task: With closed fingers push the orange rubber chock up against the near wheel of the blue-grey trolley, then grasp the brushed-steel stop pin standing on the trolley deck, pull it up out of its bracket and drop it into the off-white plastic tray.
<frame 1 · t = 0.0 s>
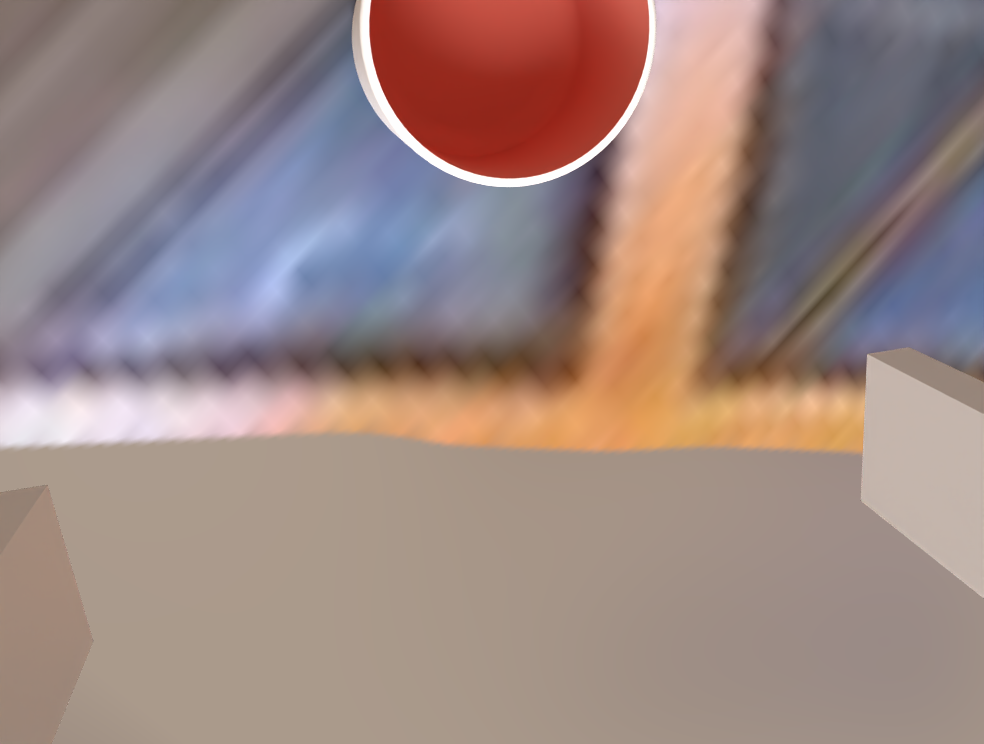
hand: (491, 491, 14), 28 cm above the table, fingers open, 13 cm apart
cup: (466, 43, 39), on the table
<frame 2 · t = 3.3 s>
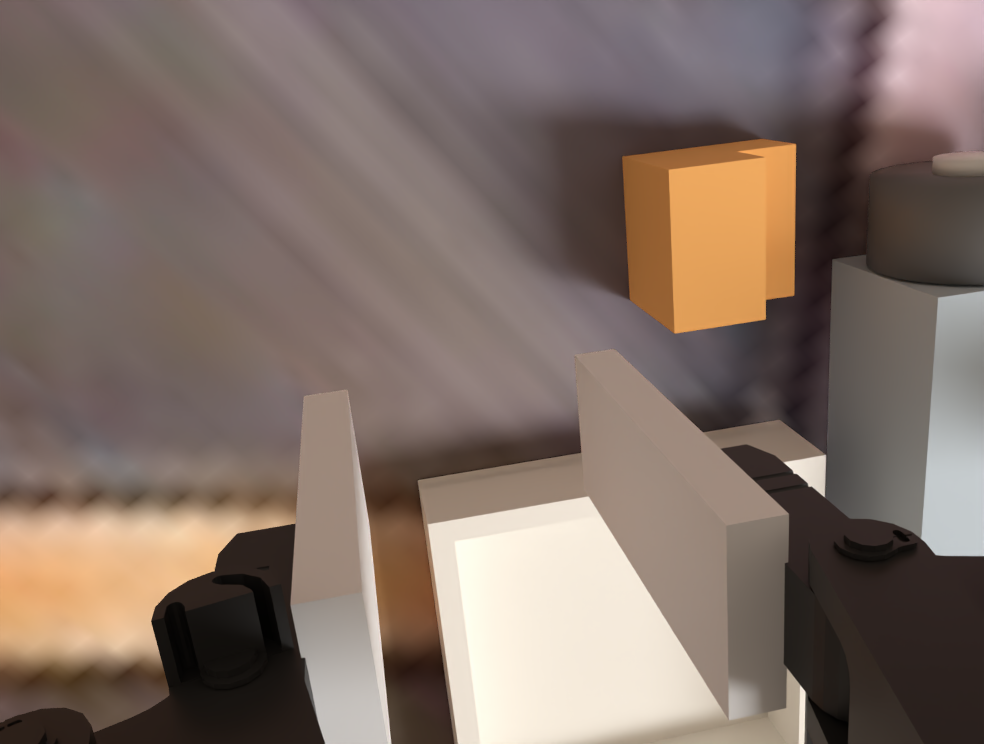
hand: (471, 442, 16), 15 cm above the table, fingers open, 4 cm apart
tray: (613, 608, 36), on the table
chock: (693, 220, 31), on the table
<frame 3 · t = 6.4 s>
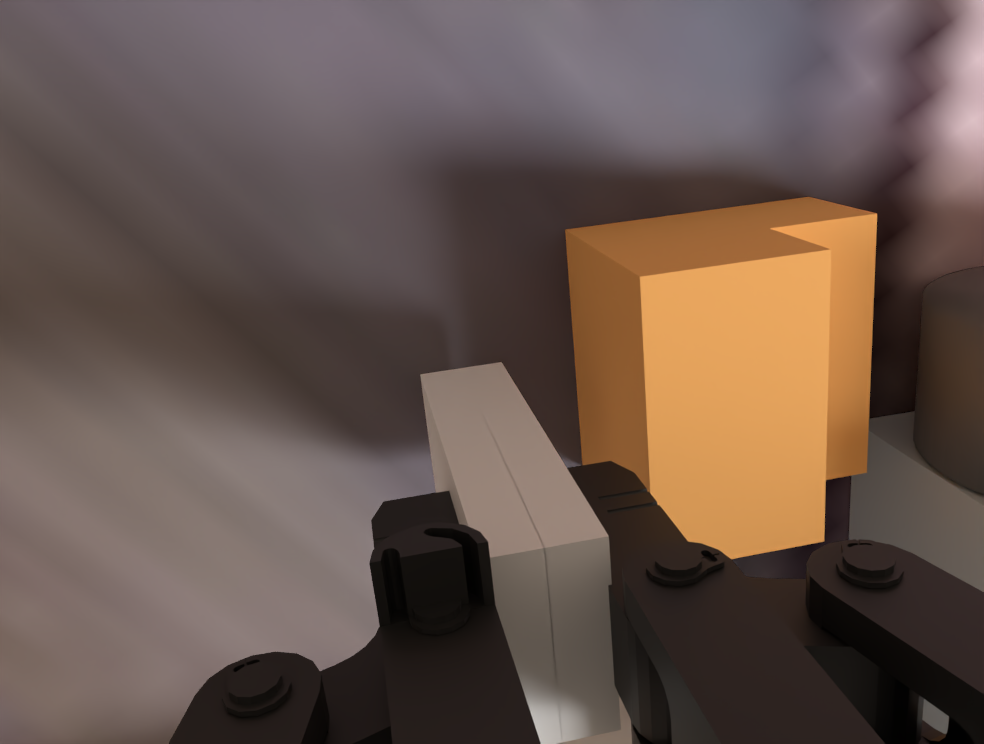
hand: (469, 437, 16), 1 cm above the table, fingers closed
chock: (690, 333, 18), on the table
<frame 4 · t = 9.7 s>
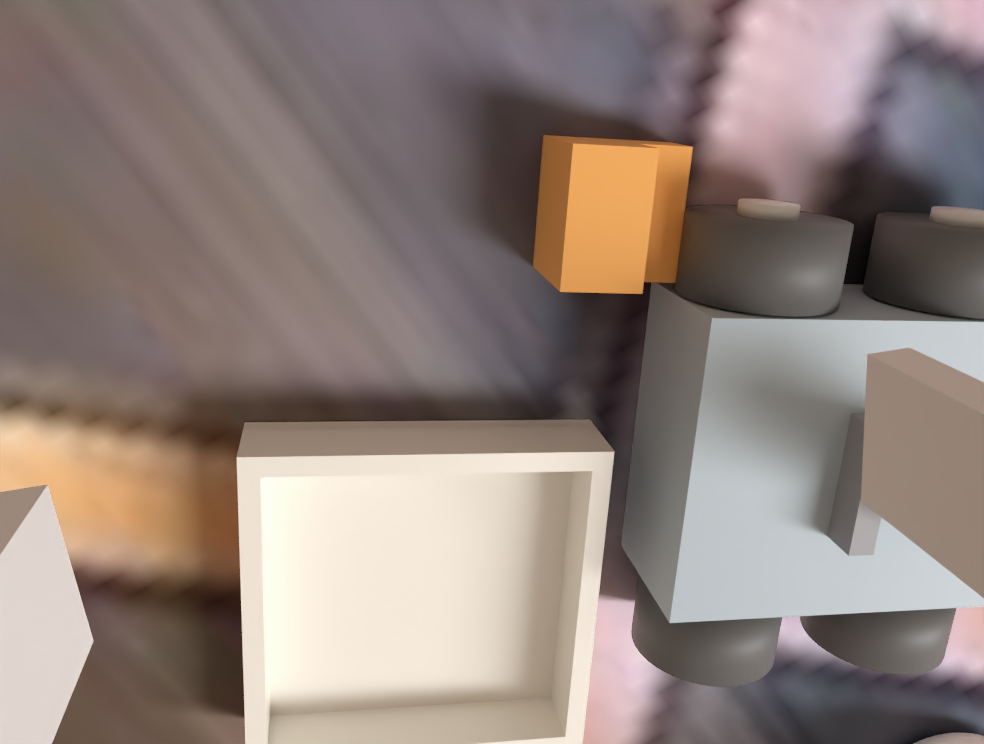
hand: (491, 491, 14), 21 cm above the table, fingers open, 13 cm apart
tray: (417, 573, 38), on the table
trolley: (788, 417, 39), on the table
chock: (599, 204, 35), on the table
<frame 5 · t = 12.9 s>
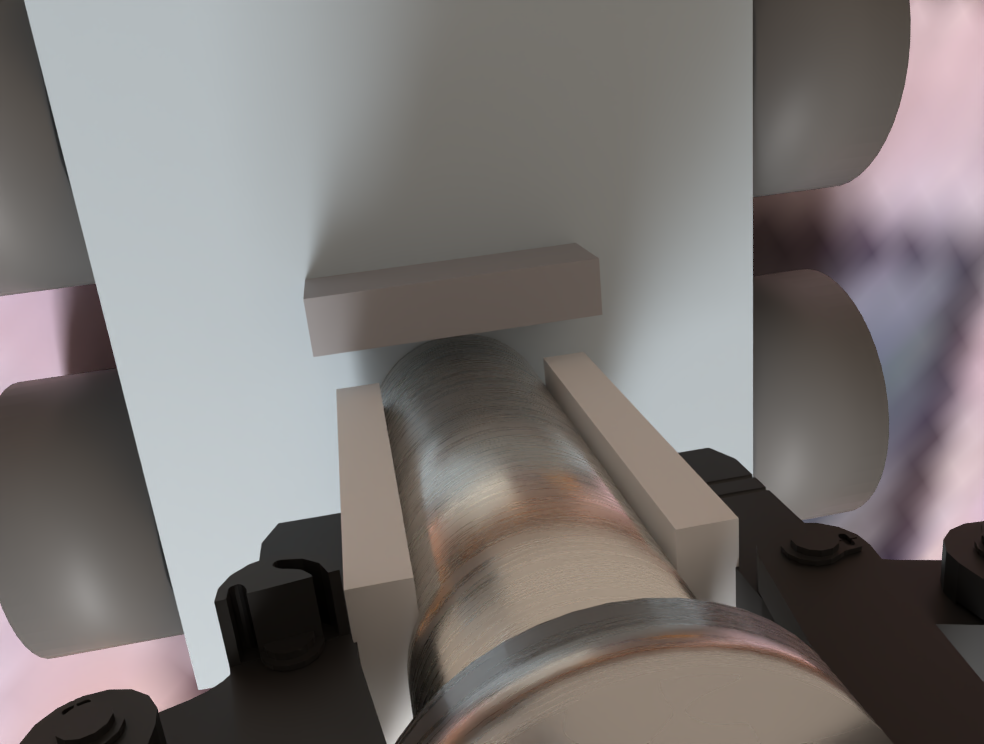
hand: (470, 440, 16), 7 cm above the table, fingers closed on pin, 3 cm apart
trolley: (418, 256, 22), on the table
pin: (460, 418, 17), point 6 cm above the table, touching gripper
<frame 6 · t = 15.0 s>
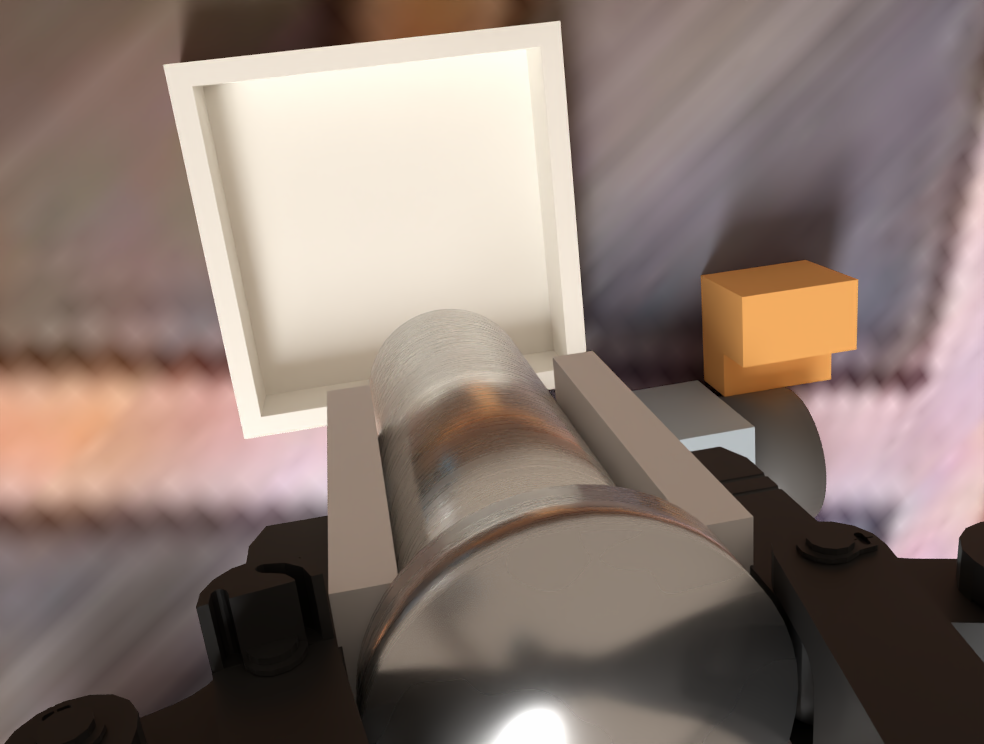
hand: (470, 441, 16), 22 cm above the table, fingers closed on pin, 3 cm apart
tray: (390, 225, 37), on the table
trolley: (583, 536, 43), on the table
pin: (448, 385, 19), point 19 cm above the table, touching gripper
chock: (752, 319, 41), on the table
when the fingers open (4 cm above the table, at t = 17.5 s): pin stays where it is, resting on tray.
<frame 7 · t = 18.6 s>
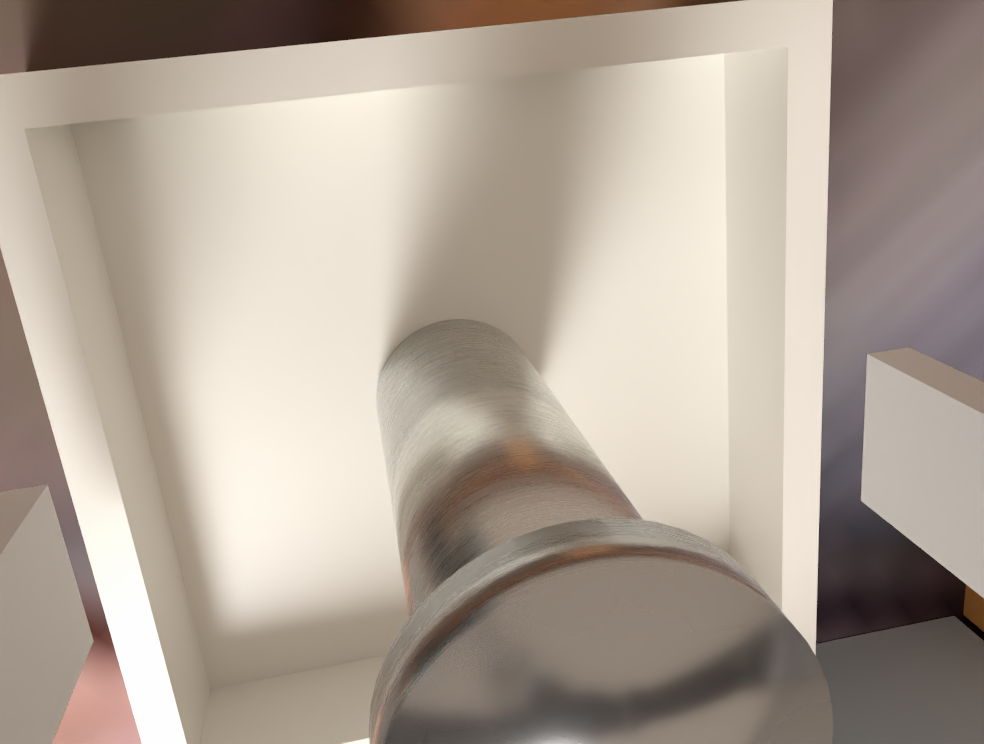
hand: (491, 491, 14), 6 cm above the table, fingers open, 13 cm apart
tray: (445, 378, 20), on the table
pin: (456, 396, 19), point 1 cm above the table, touching tray
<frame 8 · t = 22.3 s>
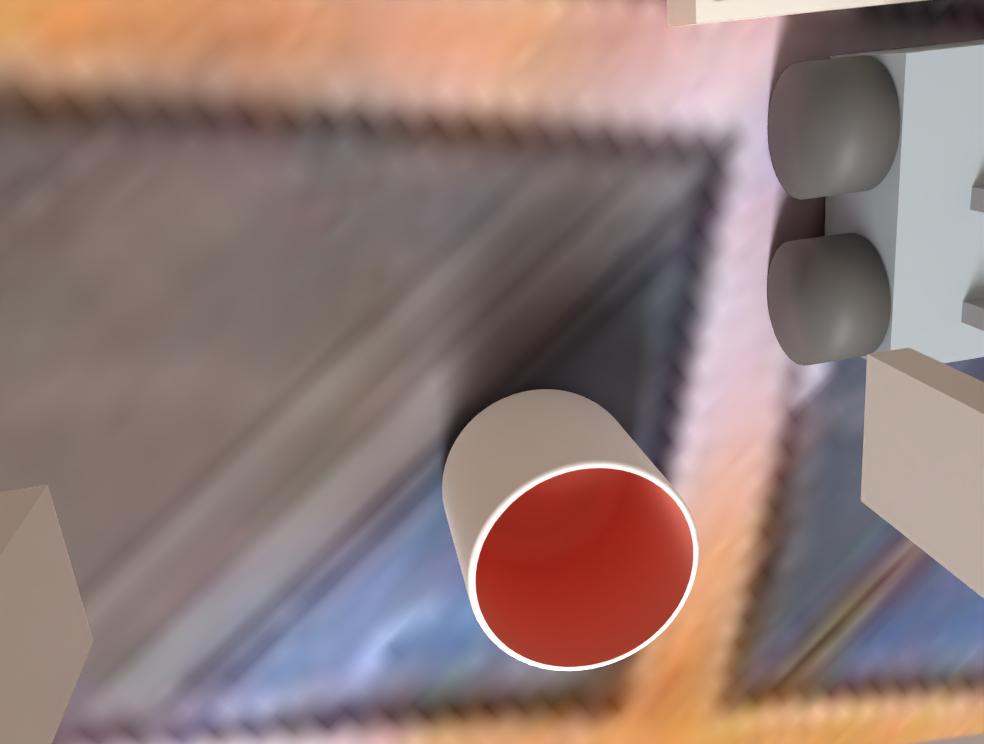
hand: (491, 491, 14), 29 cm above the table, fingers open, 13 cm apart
cup: (533, 470, 47), on the table
trolley: (934, 188, 45), on the table
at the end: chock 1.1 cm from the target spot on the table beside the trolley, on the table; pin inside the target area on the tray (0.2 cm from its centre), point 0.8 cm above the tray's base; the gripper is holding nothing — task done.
